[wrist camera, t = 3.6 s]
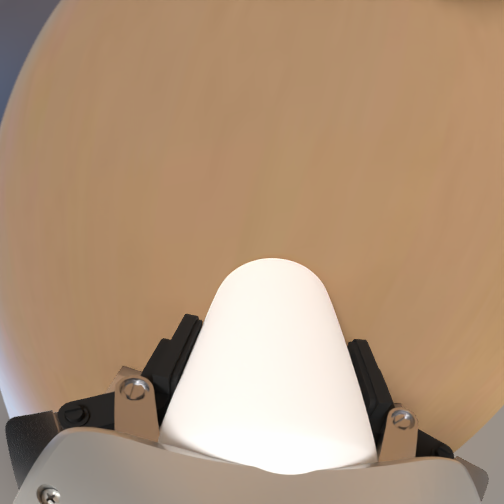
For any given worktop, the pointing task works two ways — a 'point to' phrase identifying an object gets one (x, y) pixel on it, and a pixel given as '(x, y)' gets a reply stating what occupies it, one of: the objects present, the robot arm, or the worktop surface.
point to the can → (271, 378)
